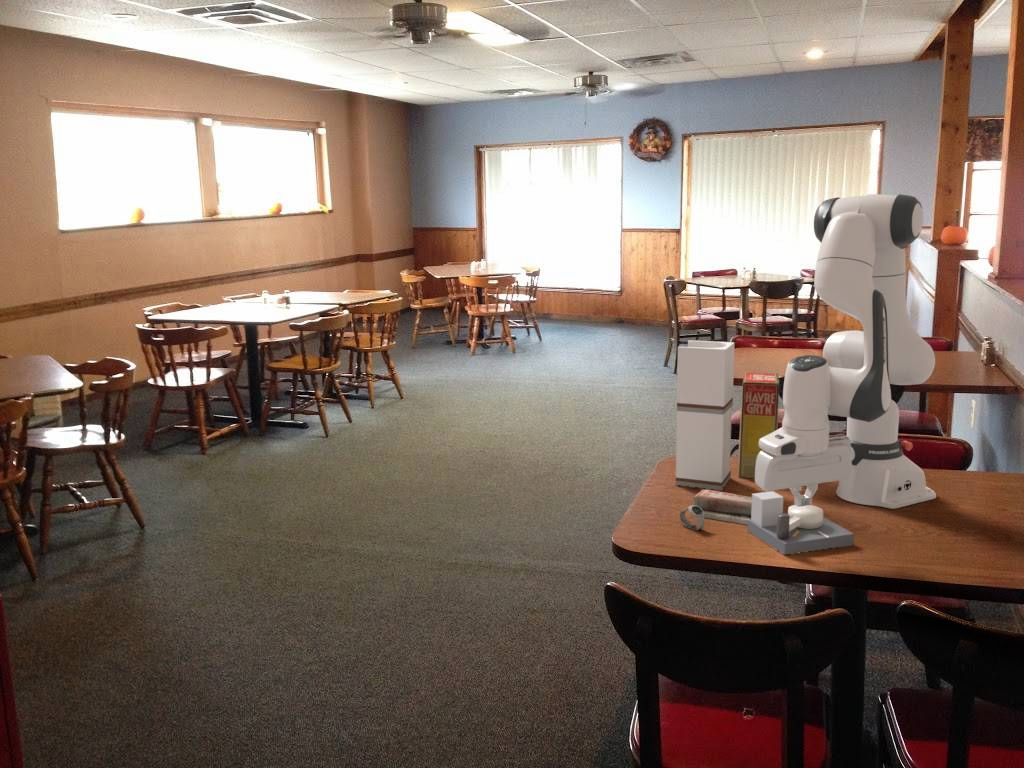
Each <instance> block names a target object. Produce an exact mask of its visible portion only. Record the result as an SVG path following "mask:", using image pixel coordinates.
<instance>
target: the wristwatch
mask: <svg viewBox="0 0 1024 768" xmlns="http://www.w3.org/2000/svg"><path fill="white" fill-rule="evenodd" d="M687 511H688V512H689V514H691V515H690V516H692V517H694V518H695V519H696V520H697V521H698V522H697V523H698V526H697V524H693V523H692V522H691V521H689V520H688V519H687V518H686V516H685V515H686V514H685V513H686V512H687ZM679 519H680V522H681V524H682V525H683V526H684V527H685V528H688V529H690V530H694V531H700V530H702V529H704V527H705V521H706V520H705V517H704V513H703V511H702V509H701V508H699V507H698V506H694V504H693V505H689V506H687V507H686V508H685V509H683V510H681V512H680V513H679Z"/></svg>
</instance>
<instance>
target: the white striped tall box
mask: <svg viewBox="0 0 1024 768" xmlns="http://www.w3.org/2000/svg"><path fill="white" fill-rule="evenodd" d="M734 368H735V342H733V341H713V340H712V341H710V340H690V339H689V340H687V346H677V371H676V372H677V380H676V382H677V384H676V385H677V386H676V388H677V389H676V433H675V434H676V438H675V440H676V443H675V445H676V446H675V450H676V451H675V486H678V485H681V486H680V487H686V486H689V487H688V488H695V487H698V488H697V489H703V488H706V489H705V490H711V489H714V490H713V491H720V490H722V491H723V490H724V488H725V486H726V485H727V484H726V483H728V482H729V481H730V480H731V478H730V477H731V474H732V470H731V446H732V443H731V442H732V441H731V440H732V439H731V438H732V411H733V410H734V409H733V407H734V406H733V405H734V404H733V403H734V378H735V377H734V374H735V373H734V372H735V369H734ZM728 480H729V481H728ZM723 487H724V488H723ZM715 489H716V490H715Z"/></svg>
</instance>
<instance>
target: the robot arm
mask: <svg viewBox="0 0 1024 768" xmlns="http://www.w3.org/2000/svg"><path fill="white" fill-rule="evenodd" d="M923 211H924V210H923V205H922V203H921V201H919V199H918V198H917V197H916V196H912V195H907V194H901V193H900V194H898V195H893V194H881V193H880V194H879V193H875V194H866V195H857V196H846V197H839V196H838V197H834V198H833V197H832V198H829V199H826V200H823V201H822V202H821V203H820V205H819V206H818V207H817V209H816V211H815V212H814V216H813V218H814V219H813V233H814V235H815V237H816V239H817V240H818V242H819V243H820V246H819V250H818V254H817V259H816V263H815V264H816V265H815V271H814V278H813V282H814V285H813V286H814V289H815V291H816V294H817V295H818V297H819V298H820V299H821V300H822V301H823V302H824V303H825V304H827V305H828V306H830V307H832V308H833V309H835V310H837V311H839V312H841V313H844V314H846V315H848V316H851V318H852V317H853V318H854V319H856V320H857V321H859V322H860V324H861V327H862V330H863V331H862V330H855V329H853V330H845V331H837V332H834V333H832V334H831V335H830V336H829V337H828V339H826V341H825V343H824V346H823V348H822V356H819V355H815V354H814V355H812V354H805V355H800V356H795V357H794V358H791V359H790V360H788V363H787V365H786V368H785V374H784V381H783V389H782V405H783V408H784V413H783V417H782V422H781V427H779V428H777V430H776V431H774V432H772V433H770V434H768V435H766V436H764V437H762V438H760V439H759V447H760V448H761V449H762V451H760V452H759V454H758V456H757V459H756V466H755V478H754V483H755V485H756V487H758V488H760V489H761V490H763V491H764V492H770V491H773V492H775V491H779V490H786V489H789V490H790V492H791V493H792V496H793V497H794V499H793V500H794V501H793V502H794V504H793V505H796V506H798V507H801V506H807V505H812V504H813V497H814V495H815V494H816V492H817V490H818V488H819V486H818V485H819V484H825V483H831V482H838V481H839V482H838V485H837V488H836V491H835V494H836V495H837V496H838V497H839V498H840V499H842V500H845V501H847V502H850V503H854V504H859V505H864V506H865V505H866V506H872V507H875V506H876V507H883V508H886V509H891V510H892V509H900V508H902V507H907V506H911V505H915V504H919V503H923V502H927V501H930V500H934V499H936V498H937V494H936V493H937V492H935V491H934V490H933V489H931V488H930V487H928V486H927V484H926V483H927V481H926V476H925V472H924V470H923V469H922V468H921V467H920V466H919V465H917V464H916V463H914V462H913V461H912V460H911V459H910V458H908V457H907V456H906V455H905V454H904V452H903V450H906V451H909V452H910V451H912V449H913V447H914V446H913V443H912V442H911V441H908V440H902V441H901V439H899V438H898V434H899V422H900V421H899V420H900V419H899V418H900V409H899V407H898V404H897V403H896V402H895V401H894V400H893V399H892V392H891V391H892V390H891V385H898V386H909V385H910V386H912V385H922V384H923V383H924V382H926V381H927V380H928V379H929V378H930V377H931V375H932V373H933V371H934V369H935V365H936V355H935V353H934V349H933V348H932V346H931V345H930V344H929V343H928V342H927V341H926V340H925V339H923V337H922V336H921V335H920V334H919V333H918V332H917V330H916V328H915V327H914V325H913V323H912V321H911V318H910V316H909V312H908V309H907V298H906V297H907V295H906V293H907V291H906V281H907V279H906V275H907V274H906V273H907V271H906V270H907V268H906V267H907V264H906V263H907V261H906V247H907V246H909V245H911V244H912V243H914V242H915V241H916V240H917V239H918V238H919V236H920V234H921V231H922V229H923V224H924V212H923ZM828 415H829V416H837V417H844V418H846V423H847V424H846V435H845V433H838V434H831V435H830V421H829V416H828ZM804 486H806V489H805V492H804V494H801V493H800V492H801V491H802V488H803V487H804Z"/></svg>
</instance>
